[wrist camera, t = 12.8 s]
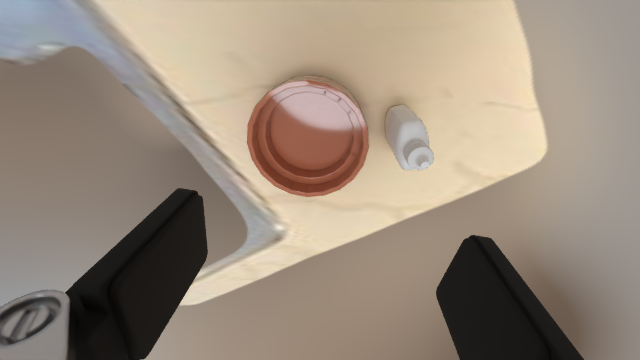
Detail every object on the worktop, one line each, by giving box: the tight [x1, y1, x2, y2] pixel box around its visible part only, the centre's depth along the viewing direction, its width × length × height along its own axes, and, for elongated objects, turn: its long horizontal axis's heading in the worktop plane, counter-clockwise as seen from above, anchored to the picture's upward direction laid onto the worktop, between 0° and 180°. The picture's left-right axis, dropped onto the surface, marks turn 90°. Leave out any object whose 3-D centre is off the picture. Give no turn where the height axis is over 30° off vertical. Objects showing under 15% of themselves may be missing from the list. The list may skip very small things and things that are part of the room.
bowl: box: [247, 75, 369, 197], centre depth 32 cm, size 14×14×5 cm
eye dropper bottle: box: [385, 105, 434, 170], centre depth 28 cm, size 4×6×12 cm
